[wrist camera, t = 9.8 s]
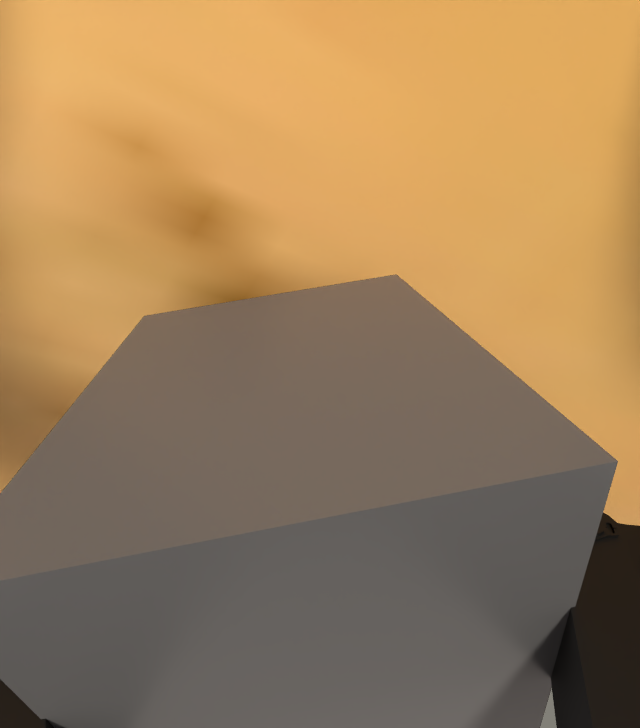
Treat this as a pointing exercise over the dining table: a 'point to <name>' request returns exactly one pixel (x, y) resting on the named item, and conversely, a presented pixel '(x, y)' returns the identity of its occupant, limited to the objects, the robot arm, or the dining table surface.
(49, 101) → the dining table surface
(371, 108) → the dining table surface
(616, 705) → the robot arm
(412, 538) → the matte gray cube
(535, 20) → the dining table surface
